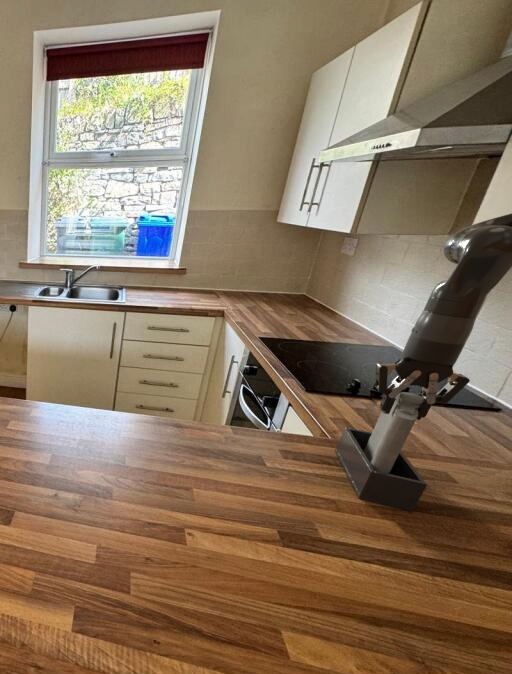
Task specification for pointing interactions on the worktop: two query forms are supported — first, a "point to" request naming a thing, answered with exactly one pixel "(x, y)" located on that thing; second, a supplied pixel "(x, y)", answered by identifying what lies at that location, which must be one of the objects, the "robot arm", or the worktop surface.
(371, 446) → the hip flask
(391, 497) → the flask holder
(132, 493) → the worktop surface
